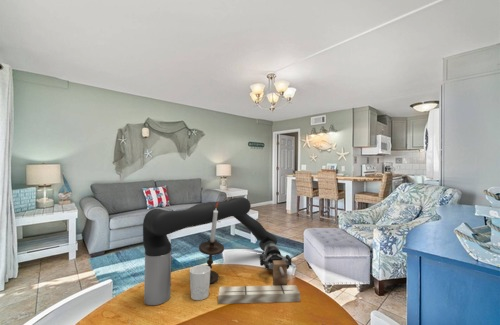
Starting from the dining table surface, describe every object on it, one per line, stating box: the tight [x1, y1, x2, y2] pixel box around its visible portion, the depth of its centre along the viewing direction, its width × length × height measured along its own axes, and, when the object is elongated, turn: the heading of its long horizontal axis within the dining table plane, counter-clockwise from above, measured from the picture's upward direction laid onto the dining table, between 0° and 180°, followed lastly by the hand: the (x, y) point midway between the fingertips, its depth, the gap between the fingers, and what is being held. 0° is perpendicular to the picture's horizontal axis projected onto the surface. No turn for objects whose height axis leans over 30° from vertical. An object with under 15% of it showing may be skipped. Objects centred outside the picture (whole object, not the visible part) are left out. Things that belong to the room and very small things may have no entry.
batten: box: [217, 284, 301, 305], centre depth 85 cm, size 30×6×3 cm, turn 93°
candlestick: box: [198, 201, 225, 285], centre depth 98 cm, size 11×11×35 cm
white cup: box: [189, 264, 211, 301], centre depth 86 cm, size 8×8×10 cm
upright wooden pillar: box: [272, 260, 288, 286], centre depth 88 cm, size 5×9×11 cm, turn 3°
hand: (277, 267), depth 96 cm, fingers open, 8 cm apart
